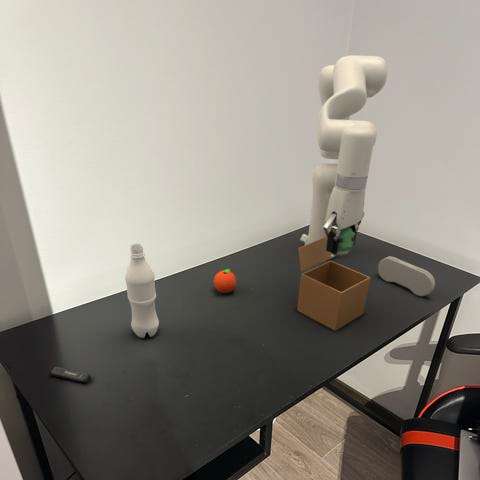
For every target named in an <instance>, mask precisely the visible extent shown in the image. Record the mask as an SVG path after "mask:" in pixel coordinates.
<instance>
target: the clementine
mask: <svg viewBox="0 0 480 480" xmlns="http://www.w3.org/2000/svg"><path fill="white" fill-rule="evenodd" d="M213 285H214V288H215V289H216V290H217V291H218V292H219V293H220V294H221V293H222V294H229V293H232V292H233V291H234V290H235V288H236V286H237V278H236V276H235V274H234V273H233V271H232V269H230V268H229V269H228V268H227V269H223V270H220V271H219V272H217V273H216V274H215V276H214V278H213Z"/></svg>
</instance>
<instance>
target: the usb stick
mask: <svg viewBox="0 0 480 480" xmlns="http://www.w3.org/2000/svg"><path fill="white" fill-rule="evenodd" d="M50 375H51V376H54V377H56V378H57V377H58V378H60V379H61V378H62V379H65V380H70V381H73V382H74V381H75V382H78V383H83V384H86V383H88V382H89V381H90V380H91V378H92V376H91V375H90V374H89V373H86V372H82V371H77V370H73V369H69V368H64V367H60V366H54V367H53V368H52V369H51V371H50Z"/></svg>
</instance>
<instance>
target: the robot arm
mask: <svg viewBox="0 0 480 480" xmlns="http://www.w3.org/2000/svg"><path fill="white" fill-rule="evenodd" d="M387 78H388V65H387V61H386V60H385V59H384V58H383V57H382V56H378V55H357V54H355V55H354V54H352V55H350V54H349V55H345V56H343V57H340V58H339V59H337V61H336V62H335V63H334V64H329V65H325V66H324V67H323V68H322V69H321V70H320V71H319V75H318V84H317V85H318V86H317V87H318V95H319V99H320V100H319V101H320V104H321V108H320V111H319V112H318V116H317V125H316V128H317V129H316V132H317V133H316V135H317V136H316V137H317V145H318V148H319V153H320V156H321V157H322V158H324V159H328V160H337V163H320V164H318V165H317V166H315V168H314V169H313V172H312V175H311V176H312V181H311V183H312V199H311V208H310V216H309V217H310V218H309V227H308V233H307V234H305V233H303V234H302V235H301V237H300V239H299V241H300V242H302V243H304V245H307V244H309V243H312V242H314V241H317V240H319V239H322V238H324V237H326V236H327V237H328V239H327V246H326V251H328V252H331V259H333V258H335V257H336V256H335V255H333V254H336V253H337V250H338V243H339V240H338V236H339V234H340V232H341V229H344V228H347V227H350V228H351V229H352V231H353V232H354V233H355V236H354V244H353V247H355V245H356V241H357V240H356V239H357V234H358V231H359V226H360V225H361V223H362V220H363V219H364V216H365V215H366V214H365V212H364V208H365V207H364V206H365V200H366V189H367V185H368V184H367V182H368V177H369V173H370V166H371V161H372V154H373V149H374V146H375V144H376V140H377V129H376V127H375V124H373V122H371V121H368V120H355V119H354V120H353V119H350V117H351V116H353V115H354V114H357V113H358V112H360V111H361V110H362V109H363V108H364V106H365V105H366V102H367V99H368V98H369V99H370V98H372V97H374V96H376V95H377V94H378V93H380V92H382V90H383V89H384V87H385V85H386V82H387ZM335 224H337V225H338V227H336V225H335ZM333 229H336V230H337V231H336V233H334V232H333ZM332 253H333V254H332Z"/></svg>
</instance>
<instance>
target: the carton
mask: <svg viewBox="0 0 480 480" xmlns="http://www.w3.org/2000/svg"><path fill="white" fill-rule="evenodd" d="M371 279H372V277H371V276H368V275H366V274H364V273H362V272H359V271H357V270H354V269H351V268H350V267H347V266H346V265H342V264H340V263H338V262H335V261H333V260H327V261H325V262H323V263H321V264H319V265H317V266H314V267H312V268H310V269H308V270H306V271H303V272H301V273H300V280H299V288H298V297H297V305H296V311H297V312H299V313H301V314H302V315H305V316H307V317H309V318H311V320H314V321H316V322H318V323H320V324H321V325H324V326H325V327H327V328H329V329H331V330H332V331H334V332H336V331H338V330H339V329H341V328H343V327H344V326H346V325H348V324H349V323H351V322H352V321H354V320H356V319H357V318H359V317H360V316H362V315H363V314H364V313H365V307H366V303H367V299H368V293H369V290H370V289H369V288H370V285H371Z"/></svg>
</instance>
